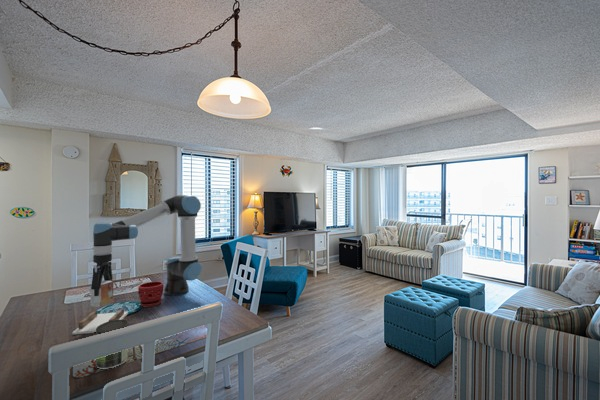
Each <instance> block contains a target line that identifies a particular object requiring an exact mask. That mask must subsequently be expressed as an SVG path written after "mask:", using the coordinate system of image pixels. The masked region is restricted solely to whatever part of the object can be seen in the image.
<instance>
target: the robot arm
mask: <svg viewBox="0 0 600 400" xmlns="http://www.w3.org/2000/svg"><path fill="white" fill-rule="evenodd" d="M201 208H202V205H201V201H200V199H199V198H198V197H197V196H195V195H189V194H186V195H185V194H182V195H181V194H179V195H174V196H172V197H170V198H167V199H165V200H163V201H160V204H157V205H154V206H153V207H149V208H148V209H145V210H143V211H140V212H138V213H135V214H133V215H131V216H129V217H126V218H124V219H121V220H118V221H117V222H115V223H112V222H97V223H95V224H94V225H93V231H92V234H93V235H92V236H93V237H92V238H93V247H92V251H93V255H92V256H93V258H92V259H93V261H92V262H93V263H95V264H96V267H93V268H92V278H91V284H90V290H91V289H92V290H93V289H94V303H97V302H101V288H100V286H101V282H102V281H104V280H107V281H114V280H113V279H114V278H113V272H112V271H113V270H112V261H113V260H112V259H113V255H112V252H113V245H112V244H113V242H115V241H123V240H124V241H126V240H132V239H136V238H137V237H138V235H139V228H140V227H143V226H144V225H146V224H148V223H151V222H153V221H155V220H157V219H160V218H162V217H165V216H170V215H172V214H173V215H174V214H177V217H178V218H179V220H180V254H181V255H180V256H174V257H170V258H168V259H167V261H166V282H165V286H164V287H163V294H164V295H165V296H178V295H182V294H186V293H187V292H189V289H190V288H189V283H188V281H189V282H190V281H191V282H192V281H194V280H197V279H198V278H199V277H200V275H202V274H201V273H202V271H203V268H202V267H203V266H202V264H201V263H199V257H198V256H197V255H196V218H197V217H198V213H199V212H200V210H201ZM103 279H104V280H103Z"/></svg>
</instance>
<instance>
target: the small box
mask: <svg viewBox="0 0 600 400" xmlns="http://www.w3.org/2000/svg"><path fill="white" fill-rule="evenodd" d="M100 288H101V302H97V303H94V289H93V290H92V289H91V288H90V300H89V301H90V305H89V306H90V307H97V308H98V307H99V308H100V307H102V306H104V305H107V304H110V303H113V302H114V280H113V281H107V280H102V281H101V286H100Z"/></svg>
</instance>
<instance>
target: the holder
mask: <svg viewBox="0 0 600 400" xmlns="http://www.w3.org/2000/svg"><path fill="white" fill-rule="evenodd" d="M128 314H129V311H125V308H120V309H119V310H118V311H117V312H109V313H108V312H106V313H98V310H93V311H92V312H91V313H89V314H88V315H87V316H85V317H84V318H83V319H82V320H80V321H79V322H78V327H77V328H76V329H75V330H73V331H72V336H73V335H83V334H84V335H85V334H95V333H94V332H96V328H97V327H98V326H99V325H101V324H103V323H106V322H109V321H113V320H125V319H124V318H126V316H127V315H128Z"/></svg>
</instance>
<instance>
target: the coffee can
mask: <svg viewBox="0 0 600 400" xmlns="http://www.w3.org/2000/svg"><path fill="white" fill-rule="evenodd" d="M127 326H128V327H129V321H128V320H126V319H123V320H113V321H109V322H106V323H103V324H101V325H99V326H98V327H97V328H96V333H95V334H96V335H97V334H101V333H105V332H109V331H112V330H116V329H120V328H124V327H127ZM96 335H95V336H96ZM128 351H129V349H128V350H124V351H121V352H118V353H115V354H111V355H108V356H106V357H102V358H99V359H96V358H95V367H96V366H97V367H98V368H101V369H107V370H109V369H108V368H112V369H114V367H115V368H117V367H116V366H118V367H120V366H122V365H123V364H125V363H126V362H127V360H128V358H129V357H128V353H129V352H128ZM119 365H120V366H119Z"/></svg>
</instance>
